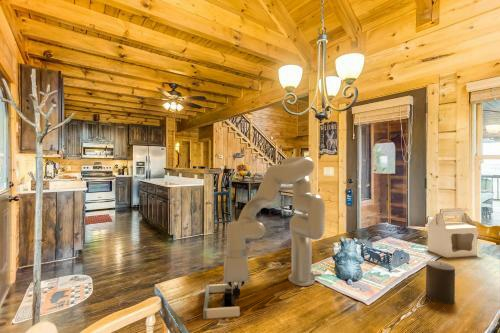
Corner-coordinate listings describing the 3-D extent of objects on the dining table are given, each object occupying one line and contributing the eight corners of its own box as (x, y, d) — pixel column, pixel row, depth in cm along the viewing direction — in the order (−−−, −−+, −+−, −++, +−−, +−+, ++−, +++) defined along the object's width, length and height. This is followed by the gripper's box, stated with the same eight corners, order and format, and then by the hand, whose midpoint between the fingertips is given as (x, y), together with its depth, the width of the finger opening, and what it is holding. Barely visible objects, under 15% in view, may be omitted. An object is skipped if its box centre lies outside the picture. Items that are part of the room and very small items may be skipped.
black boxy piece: (236, 310, 96) (235, 298, 96) (217, 310, 96) (217, 299, 96) (237, 293, 109) (237, 283, 109) (220, 293, 109) (220, 283, 109)
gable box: (446, 257, 148) (446, 211, 148) (427, 250, 161) (427, 207, 161) (477, 255, 152) (477, 210, 151) (456, 248, 165) (456, 206, 164)
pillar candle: (447, 306, 98) (448, 268, 98) (420, 294, 107) (421, 259, 107) (459, 300, 102) (460, 264, 102) (433, 289, 111) (433, 256, 111)
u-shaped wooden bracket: (236, 289, 111) (236, 283, 111) (239, 316, 92) (239, 308, 92) (206, 291, 110) (206, 284, 110) (203, 318, 90) (203, 310, 90)
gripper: (253, 248, 106) (253, 291, 106) (217, 250, 104) (217, 293, 104) (255, 255, 98) (255, 301, 99) (217, 256, 97) (217, 303, 97)
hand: (236, 297), depth 101 cm, fingers closed
